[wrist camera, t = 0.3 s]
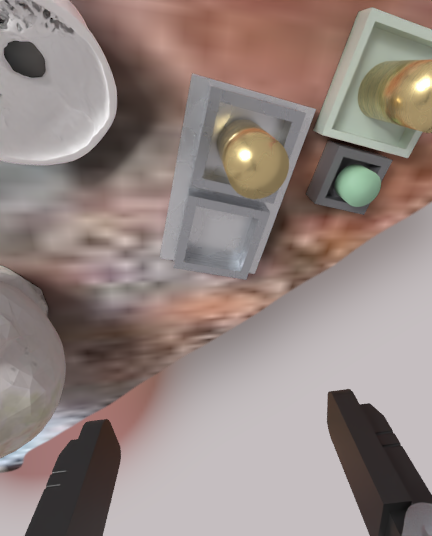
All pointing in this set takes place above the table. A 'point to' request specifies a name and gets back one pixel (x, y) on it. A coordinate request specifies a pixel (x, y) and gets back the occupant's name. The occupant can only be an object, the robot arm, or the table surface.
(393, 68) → the billet
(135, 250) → the table surface
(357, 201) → the button
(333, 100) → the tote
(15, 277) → the ceramic pitcher
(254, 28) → the table surface
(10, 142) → the skull bowl
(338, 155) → the console
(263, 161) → the billet
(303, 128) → the tray
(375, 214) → the table surface
